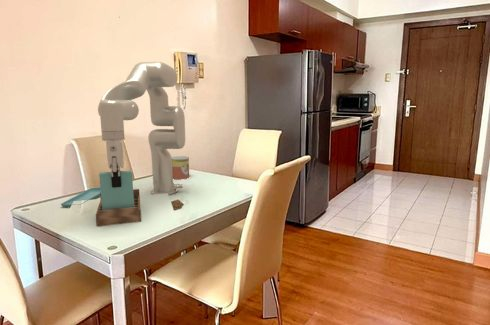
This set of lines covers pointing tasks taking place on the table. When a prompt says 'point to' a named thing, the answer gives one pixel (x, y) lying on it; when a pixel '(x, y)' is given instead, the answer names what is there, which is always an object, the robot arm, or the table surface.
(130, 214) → the rack
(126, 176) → the tall sheet
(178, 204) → the wooden fragment
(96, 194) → the shallow long dish
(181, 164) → the canned food
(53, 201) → the table surface
